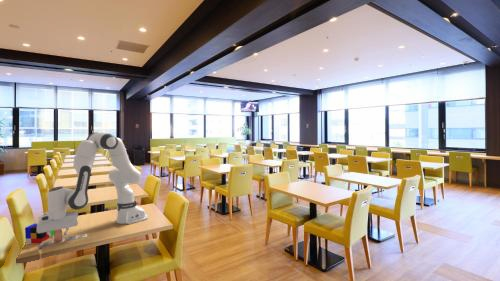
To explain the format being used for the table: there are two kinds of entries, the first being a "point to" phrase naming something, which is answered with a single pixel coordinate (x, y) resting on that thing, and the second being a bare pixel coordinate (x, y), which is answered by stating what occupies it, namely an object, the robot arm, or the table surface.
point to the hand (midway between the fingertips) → (58, 236)
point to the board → (60, 241)
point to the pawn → (58, 235)
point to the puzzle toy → (35, 235)
